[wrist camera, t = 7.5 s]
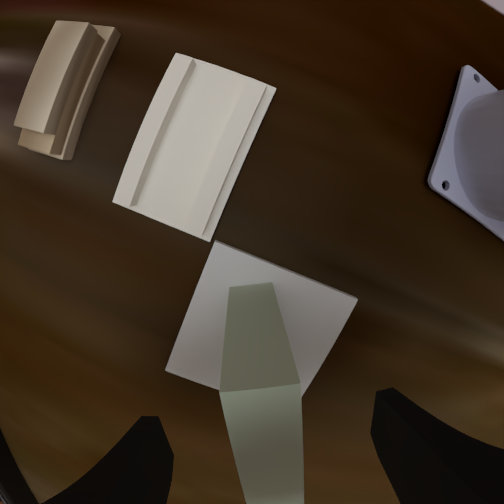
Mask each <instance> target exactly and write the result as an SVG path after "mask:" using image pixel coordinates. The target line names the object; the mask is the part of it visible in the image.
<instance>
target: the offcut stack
mask: <svg viewBox="0 0 504 504" xmlns="http://www.w3.org/2000/svg"><path fill="white" fill-rule="evenodd" d="M120 36H121V34H120V33H119V32H118V30H117V29H116V28H115V27H108V26H99V25H91V24H90V23H87V22H72V21H56V23H55V25H54V26H53V28H52V30H51V32H50V34H49V36H48V38H47V40H46V43H45V45H44V47H43V49H42V51H41V53H40V56H39V58H38V60H37V62H36V65H35V67H34V70H33V72H32V75H31V77H30V80H29V82H28V85H27V87H26V90H25V93H24V96H23V98H22V101H21V104H20V107H19V110H18V113H17V116H16V119H15V123H14V126H18V127H22V132H21V135H20V139H19V142H18V145H21V146H24V147H27V148H29V150H33V151H36V152H39V153H42V154H46V155H49V156H52V157H55V158H58V159H62V160H72V158H73V154H74V151H75V148H76V145H77V141H78V138H79V135H80V132H81V129H82V126H83V123H84V121H85V118H86V115H87V112H88V110H89V107H90V104H91V102H92V99H93V96H94V94H95V91H96V89H97V86H98V84H99V82H100V79H101V77H102V75H103V72H104V70H105V68H106V65H107V63H108V61H109V59H110V57H111V54H112V52H113V50H114V48H115V46H116V44H117V42H118V40H119V38H120Z"/></svg>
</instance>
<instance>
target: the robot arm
mask: <svg viewBox="0 0 504 504" xmlns="http://www.w3.org/2000/svg"><path fill="white" fill-rule="evenodd" d="M474 77H475V79H476V81H475V79H474ZM443 181H444V182H445V188H444V189H443V188H442V183H443ZM428 184H429V186H430V188H431V189H433V190H434V191H436V192H437V193H439V194H440V195H442V196H443V197H444V198H446V199H447V200H449V201H450V202H452V203H453V204H455V205H456V206H457V207H459V208H460V209H462V210H463V211H465V212H466V213H467V214H469V215H470V216H471V217H473V218H474V219H475V220H477V221H478V222H479V223H481V224H482V225H483V226H485V227H486V228H487V229H489V230H490V231H491V232H492V233H494V234H495V235H496V236H498V237H499V238H500V239H501V240H503V241H504V90H500V91H498V90H497V89H496V88H495V87H494V86H493V85H492V84H491V83H489V82H488V81H487V80H486V79H485V78H484V77H483V76H482V75H481V74H479V73H478V72H477V71H476V70H475V69H474V68H472V67H471V66H469V65H466V66H464V67H462V69H461V72H460V76H459V80H458V84H457V88H456V91H455V95H454V99H453V102H452V106H451V109H450V113H449V116H448V120H447V123H446V126H445V129H444V132H443V135H442V139H441V142H440V145H439V148H438V151H437V153H436V156H435V159H434V162H433V165H432V168H431V170H430V173H429V176H428ZM370 433H371V436H372V439H373V443H374V446H375V449H376V452H377V455H378V457H379V459H380V462H381V464H382V466H383V468H384V470H385V472H386V474H387V476H388V478H389V480H390V482H391V484H392V486H393V489H394V491H395V493H396V495H397V497H398V499H399V501H400V503H401V504H504V449H501V448H498V447H495V446H492V445H489V444H486V443H484V442H481V441H479V440H477V439H474V438H472V437H470V436H468V435H466V434H464V433H462V432H460V431H458V430H456V429H454V428H453V427H451V426H449V425H447V424H445V423H444V422H442V421H441V420H439V419H437V418H436V417H434V416H433V415H431V414H430V413H428V412H427V411H425V410H424V409H422V408H421V407H419V406H418V405H417V404H415V403H414V402H412V401H411V400H409V399H408V398H407V397H405V396H404V395H403V394H401V393H400V392H398V391H397V390H396V389H394V388H393V387H392V388H389V389H385V390H381V391H376V397H375V405H374V412H373V419H372V426H371V432H370ZM173 459H174V454H173V452H172V450H171V447H170V445H169V442H168V440H167V437H166V435H165V432H164V430H163V427H162V424H161V422H160V419H159V417H158V416H141V417H140V419H139V420H138V421H137V422H136V423H135V424H134V425H133V426H132V427H131V428H130V430H129V431H128V432H127V433H126V434H125V435H124V436H123V437H122V438H121V439H120V441H119V442H118V443H117V444H116V445H115V446H114V447H113V448H112V449H111V450H110V451H109V452H108V453H107V454H106V455H105V456H104V457H103V458H102V459H101V460H100V461H99V462H98V463H97V464H96V465H95V466H94V467H93V468H92V469H91V470H89V471H88V472H87V473H86V474H85V475H84V476H83V477H81V478H80V479H79V480H77V481H76V482H75V483H73V484H72V485H71V486H69V487H68V488H67V489H65V490H64V491H62V492H61V493H59V494H57V495H55V496H54V497H52V498H50V499H49V500H47V501H45V502H43V503H42V504H166V503H167V498H168V494H169V490H170V485H171V481H172V472H173Z"/></svg>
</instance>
